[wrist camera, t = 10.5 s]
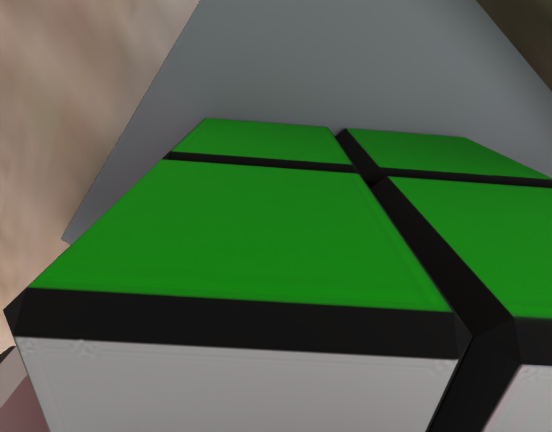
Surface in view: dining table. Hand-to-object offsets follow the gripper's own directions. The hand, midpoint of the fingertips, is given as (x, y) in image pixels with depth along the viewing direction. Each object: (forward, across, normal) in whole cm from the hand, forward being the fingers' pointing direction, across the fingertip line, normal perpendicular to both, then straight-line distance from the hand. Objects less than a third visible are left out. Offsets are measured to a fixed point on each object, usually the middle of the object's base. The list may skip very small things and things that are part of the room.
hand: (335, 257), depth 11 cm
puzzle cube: (+3, 0, -1) cm, 4 cm away
